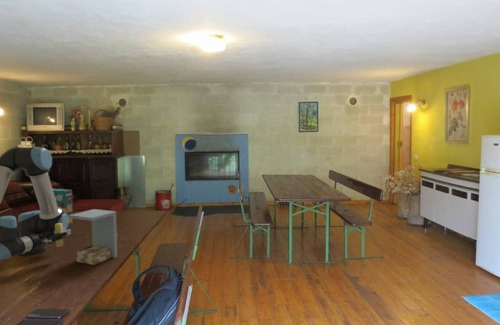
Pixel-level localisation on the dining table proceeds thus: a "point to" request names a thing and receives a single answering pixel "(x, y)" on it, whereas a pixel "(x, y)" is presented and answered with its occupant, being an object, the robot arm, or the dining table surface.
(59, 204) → the cake mix box
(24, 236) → the robot arm
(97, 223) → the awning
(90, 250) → the socket block
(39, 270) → the dining table surface
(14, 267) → the dining table surface
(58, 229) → the peg
